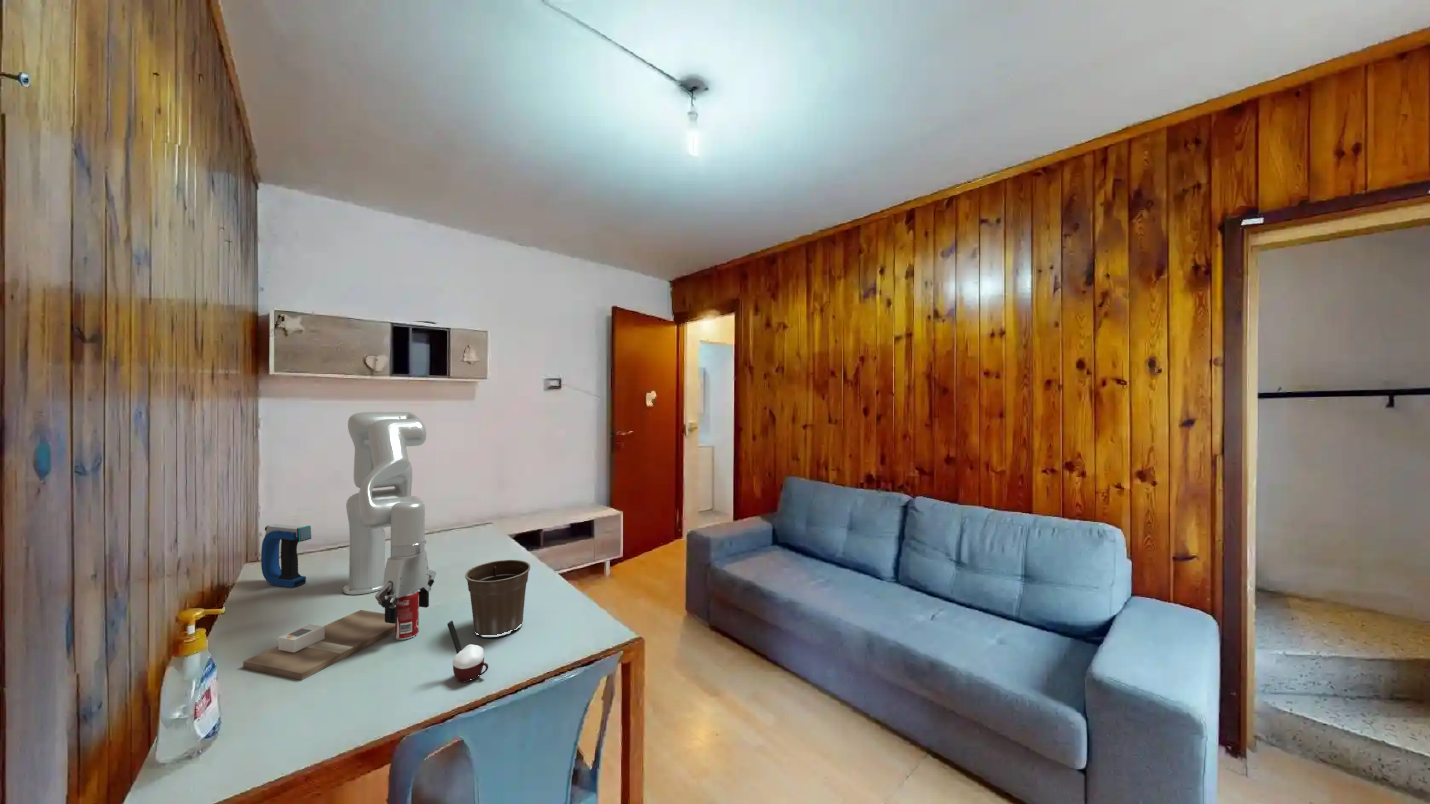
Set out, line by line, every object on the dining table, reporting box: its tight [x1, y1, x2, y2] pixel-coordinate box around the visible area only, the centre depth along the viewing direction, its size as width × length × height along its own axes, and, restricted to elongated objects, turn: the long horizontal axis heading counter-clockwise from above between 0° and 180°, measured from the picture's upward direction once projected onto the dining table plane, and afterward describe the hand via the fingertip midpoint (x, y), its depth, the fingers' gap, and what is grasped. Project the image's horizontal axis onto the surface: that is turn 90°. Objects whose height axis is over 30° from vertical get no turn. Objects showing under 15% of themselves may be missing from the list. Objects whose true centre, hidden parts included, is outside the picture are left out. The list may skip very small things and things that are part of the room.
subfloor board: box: [242, 609, 395, 681], centre depth 121 cm, size 28×18×2 cm, turn 166°
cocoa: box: [447, 620, 489, 682], centre depth 108 cm, size 10×6×12 cm, turn 60°
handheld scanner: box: [260, 523, 312, 589], centre depth 159 cm, size 5×16×20 cm, turn 78°
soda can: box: [394, 590, 420, 641], centre depth 126 cm, size 5×5×12 cm
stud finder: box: [277, 623, 325, 653], centre depth 118 cm, size 7×5×3 cm
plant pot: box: [464, 559, 531, 635], centre depth 130 cm, size 16×16×16 cm
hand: (407, 614), depth 125 cm, fingers open, 9 cm apart
